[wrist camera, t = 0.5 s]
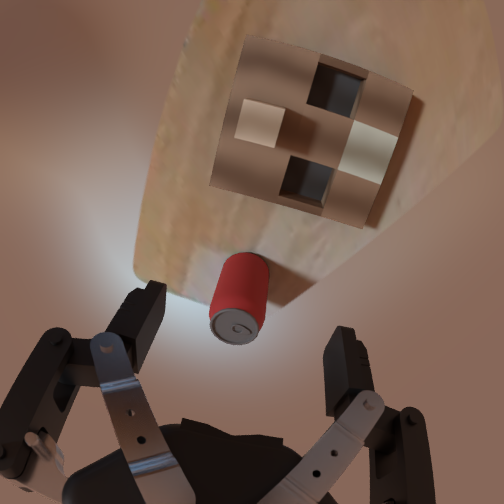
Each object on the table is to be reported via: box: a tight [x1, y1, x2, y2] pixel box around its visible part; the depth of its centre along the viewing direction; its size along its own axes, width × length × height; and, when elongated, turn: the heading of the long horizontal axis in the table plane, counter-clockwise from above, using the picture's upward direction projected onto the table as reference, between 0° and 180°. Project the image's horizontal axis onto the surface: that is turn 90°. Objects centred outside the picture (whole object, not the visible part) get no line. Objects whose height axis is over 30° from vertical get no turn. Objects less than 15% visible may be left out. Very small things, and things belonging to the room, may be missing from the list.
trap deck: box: [209, 35, 414, 229], centre depth 33 cm, size 18×19×3 cm
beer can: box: [209, 253, 269, 345], centre depth 40 cm, size 7×7×12 cm
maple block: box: [234, 98, 285, 148], centre depth 30 cm, size 4×4×4 cm
